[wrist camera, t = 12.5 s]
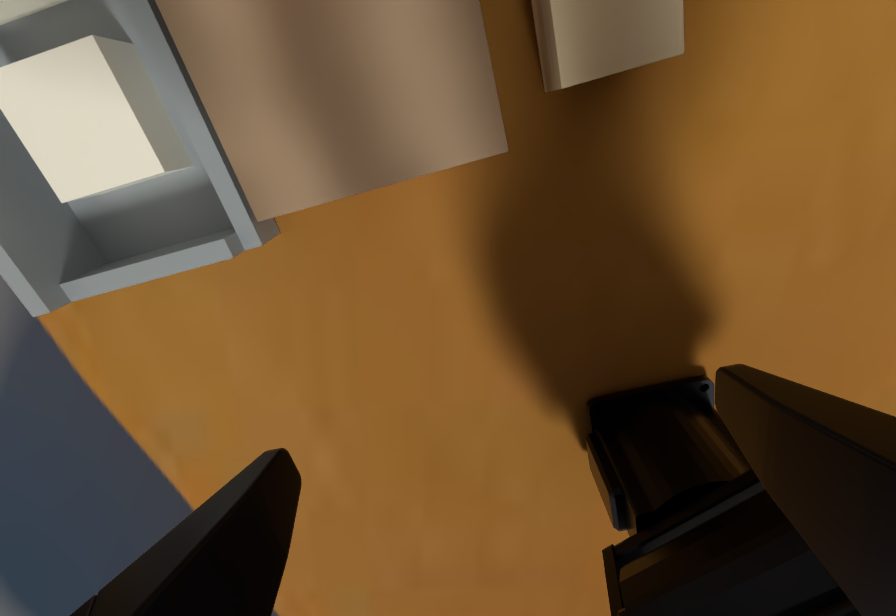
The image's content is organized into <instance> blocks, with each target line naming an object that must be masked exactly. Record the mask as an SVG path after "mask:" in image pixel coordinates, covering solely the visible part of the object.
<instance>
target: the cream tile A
mask: <svg viewBox="0 0 896 616" xmlns="http://www.w3.org/2000/svg"><path fill="white" fill-rule="evenodd" d="M66 1H69V0H0V25H3V24H6V23H8V22H11V21H14V20H17V19H19V18H22V17H25V16H27V15H30V14H33V13H36V12H38V11H41V10H44V9H47V8H49V7H52V6H55V5H58V4H60V3H63V2H66Z"/></svg>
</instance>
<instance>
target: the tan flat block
mask: <svg viewBox="0 0 896 616" xmlns="http://www.w3.org/2000/svg"><path fill="white" fill-rule="evenodd" d="M155 2H156V4H157V6H158V8H159V10H160V12H161V15H162V17H163V19H164V21H165V23H166V25H167V27H168V30H169V32H170V34H171V36H172V38H173V40H174V43H175V45H176V47H177V49H178V51H179V53H180V55H181V58H182V60H183V62H184V64H185V66H186V68H187V71H188V73H189V75H190V77H191V79H192V81H193V84H194V86H195V88H196V90H197V92H198V94H199V96H200V99H201V101H202V103H203V105H204V107H205V109H206V112H207V114H208V116H209V118H210V120H211V122H212V124H213V127H214V129H215V131H216V133H217V135H218V137H219V140H220V142H221V144H222V146H223V148H224V150H225V153H226V155H227V157H228V159H229V161H230V163H231V165H232V168H233V170H234V172H235V174H236V176H237V178H238V181H239V183H240V185H241V187H242V189H243V191H244V193H245V196H246V198H247V200H248V202H249V204H250V206H251V209H252V211H253V213H254V215H255V217H256V219H257V222H259V221H263V220H266V219H270V218H273V217H277V216H281V215H284V214H288V213H291V212H295V211H298V210H302V209H306V208H309V207H313V206H316V205H320V204H323V203H327V202H330V201H334V200H338V199H341V198H345V197H348V196H352V195H355V194H359V193H362V192H366V191H370V190H373V189H377V188H380V187H384V186H387V185H391V184H394V183H398V182H402V181H405V180H409V179H412V178H416V177H419V176H423V175H427V174H430V173H434V172H437V171H441V170H444V169H448V168H451V167H455V166H459V165H462V164H466V163H469V162H473V161H476V160H480V159H483V158H487V157H491V156H494V155H498V154H501V153H505V152H508V151H509V150H508V145H507V140H506V135H505V130H504V125H503V120H502V114H501V109H500V104H499V99H498V94H497V89H496V84H495V79H494V73H493V68H492V63H491V58H490V53H489V48H488V43H487V37H486V32H485V27H484V22H483V17H482V12H481V7H480V2H479V0H155Z"/></svg>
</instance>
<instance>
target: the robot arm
mask: <svg viewBox="0 0 896 616" xmlns="http://www.w3.org/2000/svg"><path fill="white" fill-rule="evenodd" d="M703 384H704V385H703ZM701 385H703V386H702V387H700V386H701ZM715 405H716V409H717V411H718V412H717V411H716V410H715V408H714V383H713V382H712V381H711V380H710V379H709V378H708V377H707V376H696V377H692V378H687V379H682V380H677V381H672V382H667V383H663V384H658V385H653V386H648V387H643V388H638V389H634V390H629V391H624V392H619V393H614V394H610V395H605V396H600V397H595V398H592V399H591V400H589V401H588V403H587V411H588V417H589V423H590V429H591V433H589V434H587V436H586V438H585V440H586V446H587V452H588V458H589V464H590V469H591V472H592V474H593V477H594V479H595V482H596V484H597V487H598V489H599V492H600V495H601V497H602V500H603V502H604V505H605V507H606V510H607V512H608V515H609V517H610V520H611V522H612V525H613V527H614V528H615V529H617V530H618V531H624V530H627V531H628V534H629V536H630V537H629V538H627V539H626V540H624V541H622V542H620V543H618V544H617V545H615V546H614V545H613V544H612V545H610V546H609V547H607V548H605V549H603V550H602V553H603V560H604V567H605V575H606V582H607V589H608V596H609V603H610V610H611V616H896V417H895V416H892V415H889V414H886V413H883V412H880V411H877V410H874V409H871V408H868V407H866V406H863V405H860V404H857V403H854V402H851V401H848V400H845V399H842V398H839V397H836V396H834V395H831V394H828V393H825V392H822V391H819V390H816V389H813V388H810V387H807V386H804V385H802V384H799V383H796V382H793V381H790V380H787V379H784V378H781V377H778V376H775V375H773V374H770V373H767V372H764V371H761V370H758V369H755V368H752V367H749V366H746V365H743V364H735V365H729V366H724V367H720V368H719V369H718V370H717V371H716V379H715ZM596 406H600V407H599V408H595V407H596ZM300 490H301V476H300V473H299V471H298V469H297V468H296V466H295V464H294V462H293V460H292V458H291V456H290V454H289V452H288V451H287V450H286V449H284V448H279V449H273V450H268V451H266V452H264V453H263V454H261V455H260V456H259V457H258V458H257V459H255V460H254V461H253V462H252V463H251V464H250V465H248V466H247V467H246V468H245V469H244V470H242V471H241V472H240V473H239V474H238V475H236V476H235V477H234V478H233V479H232V480H230V481H229V482H228V483H227V484H226V485H225V486H223V487H222V488H221V489H220V490H219V491H217V492H216V493H215V494H214V495H213V496H211V497H210V498H209V499H208V500H207V501H206V502H204V503H203V504H202V505H201V506H200V507H198V508H197V509H196V510H195V511H194V512H192V513H191V514H190V515H189V516H188V517H186V518H185V519H184V520H183V521H182V522H181V523H179V524H178V525H177V526H176V527H175V528H173V529H172V530H171V531H170V532H169V533H167V534H166V535H165V536H164V537H163V538H162V539H160V540H159V541H158V542H157V543H156V544H155V545H153V546H152V547H151V548H150V549H148V550H147V551H146V552H145V553H144V554H143V555H141V556H140V557H139V558H138V559H137V560H135V561H134V562H133V563H132V564H131V565H129V566H128V567H127V568H126V569H125V570H123V571H122V572H121V573H120V574H119V575H118V576H116V577H115V578H114V579H113V580H112V581H110V582H109V583H108V584H107V585H106V586H105V587H103V588H102V589H101V590H100V591H99V592H98V594H97V595H94V596H92V597H91V598H90V599H89V600H88V601H86V602H85V603H84V604H83V605H82V606H81V607H79V608H78V609H77V610H76V611H75V612H73V613H72V614H71V615H70V616H271V614H272V611H273V607H274V604H275V600H276V597H277V593H278V590H279V587H280V583H281V580H282V576H283V573H284V569H285V565H286V561H287V558H288V553H289V549H290V544H291V539H292V533H293V528H294V522H295V517H296V512H297V506H298V501H299V495H300Z"/></svg>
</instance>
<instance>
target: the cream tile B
mask: <svg viewBox="0 0 896 616" xmlns="http://www.w3.org/2000/svg"><path fill="white" fill-rule="evenodd" d="M0 109H1V111H2V112H3V114H4V115H5V117H6V118H7V120H8V121H9V123H10V125H11V126H12V128H13V129H14V131H15V132H16V134H17V135H18V137H19V138H20V140H21V141H22V143H23V145H24V146H25V148H26V149H27V151H28V152H29V154H30V155H31V157H32V158H33V160H34V161H35V163H36V165H37V166H38V168H39V169H40V171H41V172H42V174H43V175H44V177H45V178H46V180H47V181H48V183H49V185H50V186H51V188H52V189H53V191H54V192H55V194H56V195H57V197H58V198H59V200H60V201H61V203H65V202H70V201H74V200H78V199H83V198H87V197H91V196H96V195H100V194H104V193H107V192H110V191H113V190H117V189H120V188H123V187H127V186H130V185H133V184H136V183H140V182H143V181H146V180H150V179H153V178H156V177H160V176H163V175H166V174H169V173H173V172H176V171H179V170H183V169H186V168H189V167H192V166H194V164H193V162H192V160H191V158H190V156H189V154H188V152H187V150H186V148H185V146H184V144H183V142H182V140H181V138H180V136H179V134H178V132H177V130H176V128H175V126H174V124H173V122H172V120H171V118H170V116H169V114H168V112H167V110H166V108H165V106H164V104H163V102H162V100H161V98H160V96H159V94H158V92H157V90H156V88H155V86H154V84H153V82H152V80H151V78H150V76H149V74H148V72H147V70H146V68H145V66H144V64H143V62H142V60H141V58H140V56H139V54H138V52H137V50H136V48H135V46H134V44H131V43H127V42H122V41H118V40H113V39H109V38H104V37H100V36H95V35H90V36H88V37H85V38H82V39H79V40H76V41H73V42H71V43H68V44H65V45H62V46H59V47H56V48H54V49H51V50H48V51H45V52H42V53H40V54H37V55H34V56H31V57H28V58H25V59H23V60H20V61H17V62H14V63H11V64H9V65H6V66H3V67H0Z"/></svg>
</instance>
